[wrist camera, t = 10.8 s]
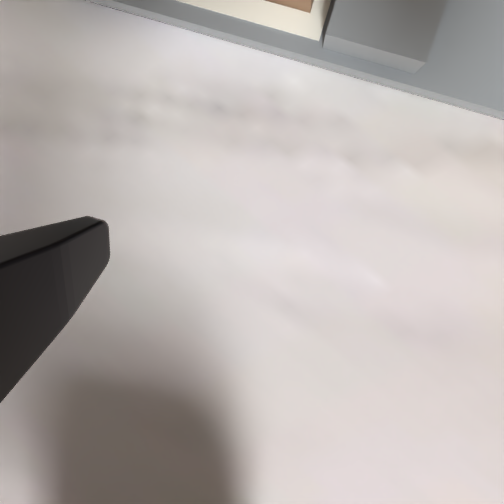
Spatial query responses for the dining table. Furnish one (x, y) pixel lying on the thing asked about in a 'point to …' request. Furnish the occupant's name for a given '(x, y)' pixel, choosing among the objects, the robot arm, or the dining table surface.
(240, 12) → the grey compartment tray
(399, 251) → the dining table surface
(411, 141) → the dining table surface
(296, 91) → the dining table surface
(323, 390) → the dining table surface
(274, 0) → the wooden block
